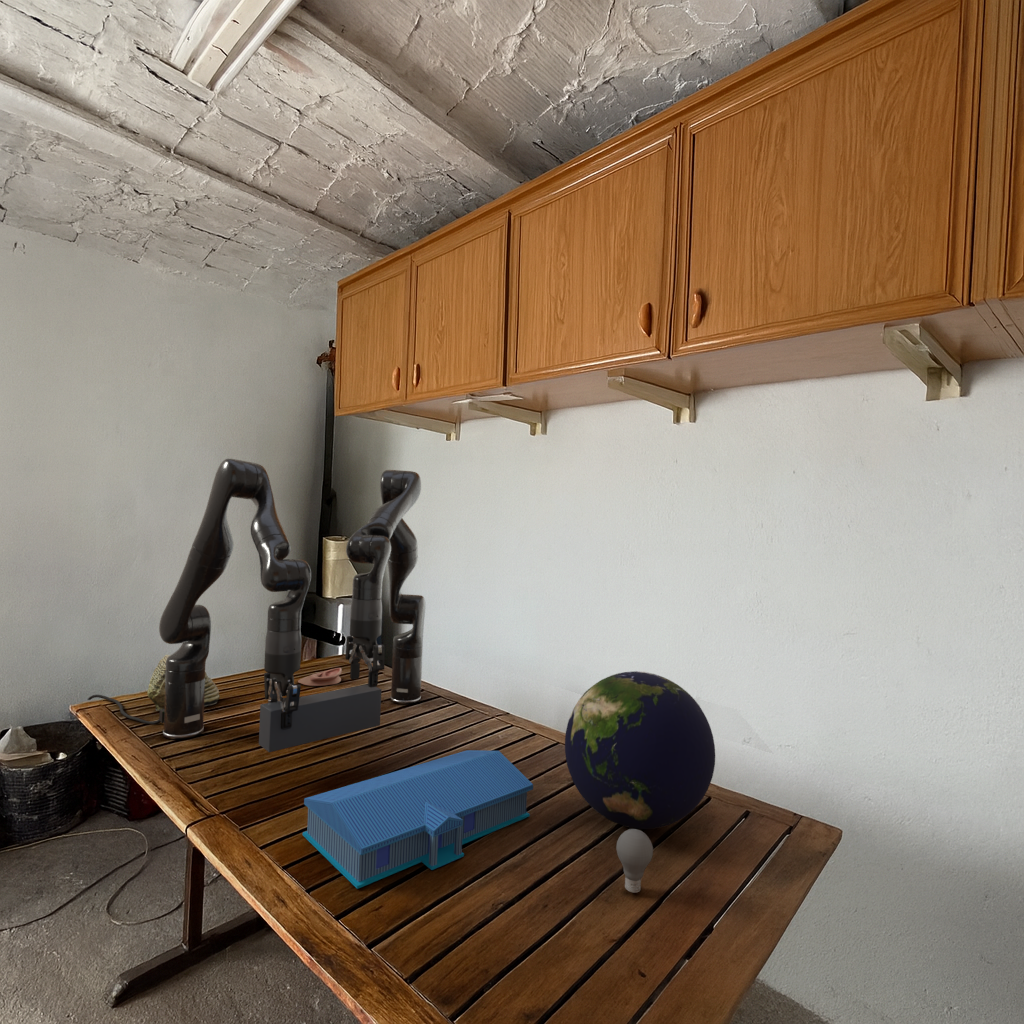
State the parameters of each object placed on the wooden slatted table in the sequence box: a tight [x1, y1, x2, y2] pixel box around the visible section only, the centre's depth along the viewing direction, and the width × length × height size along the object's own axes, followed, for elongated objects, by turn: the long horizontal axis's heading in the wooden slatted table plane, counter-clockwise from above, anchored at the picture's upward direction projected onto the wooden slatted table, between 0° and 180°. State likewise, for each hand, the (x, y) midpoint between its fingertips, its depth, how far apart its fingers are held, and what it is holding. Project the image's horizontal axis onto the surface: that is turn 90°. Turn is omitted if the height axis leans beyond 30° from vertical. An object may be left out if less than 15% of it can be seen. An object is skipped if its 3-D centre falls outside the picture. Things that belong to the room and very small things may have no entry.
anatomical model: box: [297, 667, 343, 687], centre depth 214 cm, size 13×4×12 cm
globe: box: [564, 670, 716, 830], centre depth 129 cm, size 30×30×30 cm
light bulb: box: [615, 828, 654, 894], centre depth 106 cm, size 6×6×10 cm
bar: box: [258, 683, 382, 753], centre depth 148 cm, size 28×6×9 cm, turn 134°
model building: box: [302, 749, 534, 890], centre depth 123 cm, size 39×24×10 cm, turn 132°
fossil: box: [147, 654, 221, 712], centre depth 185 cm, size 9×18×15 cm, turn 132°
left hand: (280, 724), depth 141 cm, fingers closed on bar, 5 cm apart
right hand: (363, 682), depth 155 cm, fingers open, 8 cm apart
